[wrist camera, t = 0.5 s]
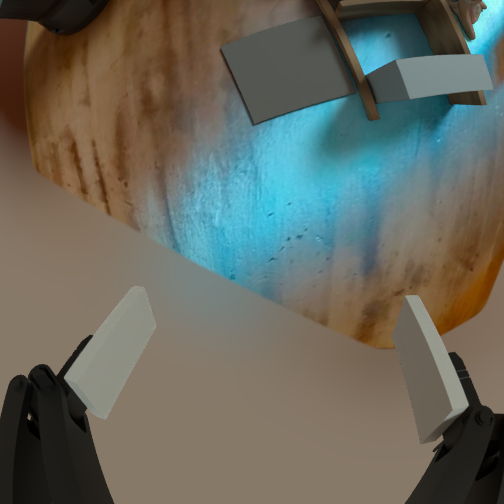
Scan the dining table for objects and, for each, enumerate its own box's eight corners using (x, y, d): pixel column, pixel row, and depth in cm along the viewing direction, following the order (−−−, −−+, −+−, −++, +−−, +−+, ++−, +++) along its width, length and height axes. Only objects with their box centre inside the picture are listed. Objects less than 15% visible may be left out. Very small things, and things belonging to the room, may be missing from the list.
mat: (221, 47, 28) (220, 47, 28) (320, 16, 24) (320, 15, 24) (254, 123, 33) (254, 123, 33) (355, 93, 29) (356, 92, 29)
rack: (293, -34, 20) (292, -62, 13) (384, -43, 16) (399, -66, 9) (368, 120, 30) (389, 121, 23) (455, 103, 26) (486, 104, 19)
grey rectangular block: (363, 76, 28) (395, 59, 17) (434, 65, 24) (482, 54, 14) (373, 104, 29) (409, 99, 19) (443, 91, 26) (493, 89, 15)
